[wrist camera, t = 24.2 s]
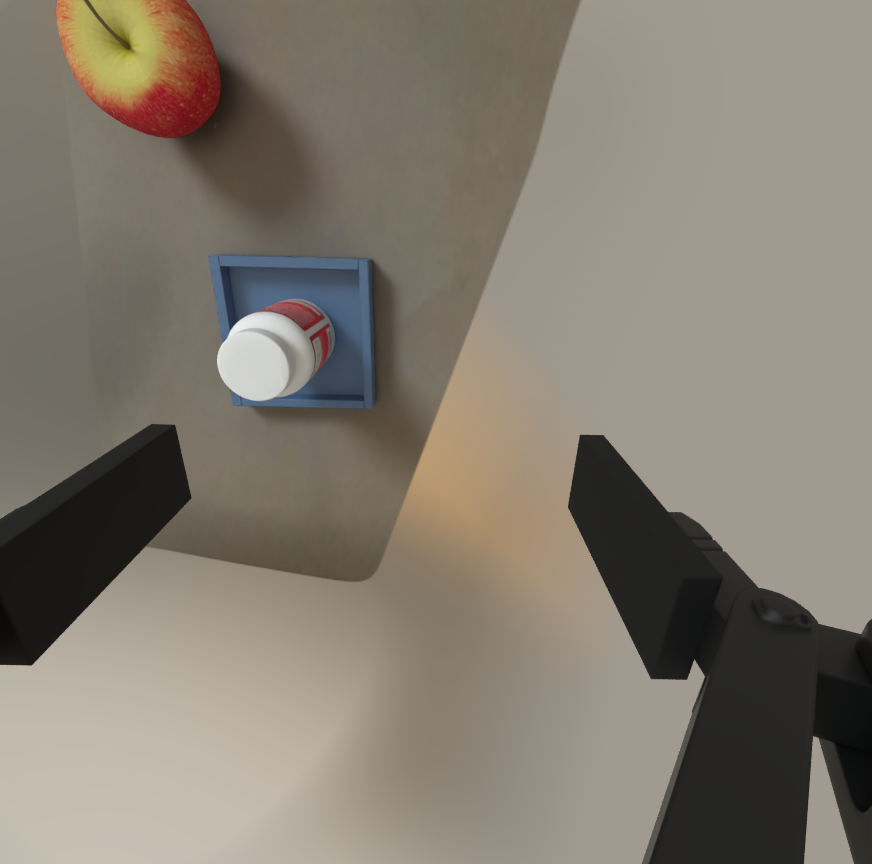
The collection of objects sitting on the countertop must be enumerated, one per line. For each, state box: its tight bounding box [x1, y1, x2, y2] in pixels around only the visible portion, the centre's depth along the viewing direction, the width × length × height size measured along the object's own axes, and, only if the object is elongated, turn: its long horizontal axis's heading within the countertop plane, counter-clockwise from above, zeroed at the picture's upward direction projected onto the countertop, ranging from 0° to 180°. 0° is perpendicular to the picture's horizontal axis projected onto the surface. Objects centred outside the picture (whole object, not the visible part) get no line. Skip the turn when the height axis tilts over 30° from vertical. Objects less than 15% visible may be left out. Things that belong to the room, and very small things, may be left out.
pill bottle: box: [217, 299, 335, 401], centre depth 34 cm, size 6×6×11 cm
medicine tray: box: [209, 255, 376, 409], centre depth 39 cm, size 13×13×2 cm
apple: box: [56, 0, 221, 138], centre depth 28 cm, size 8×8×10 cm
